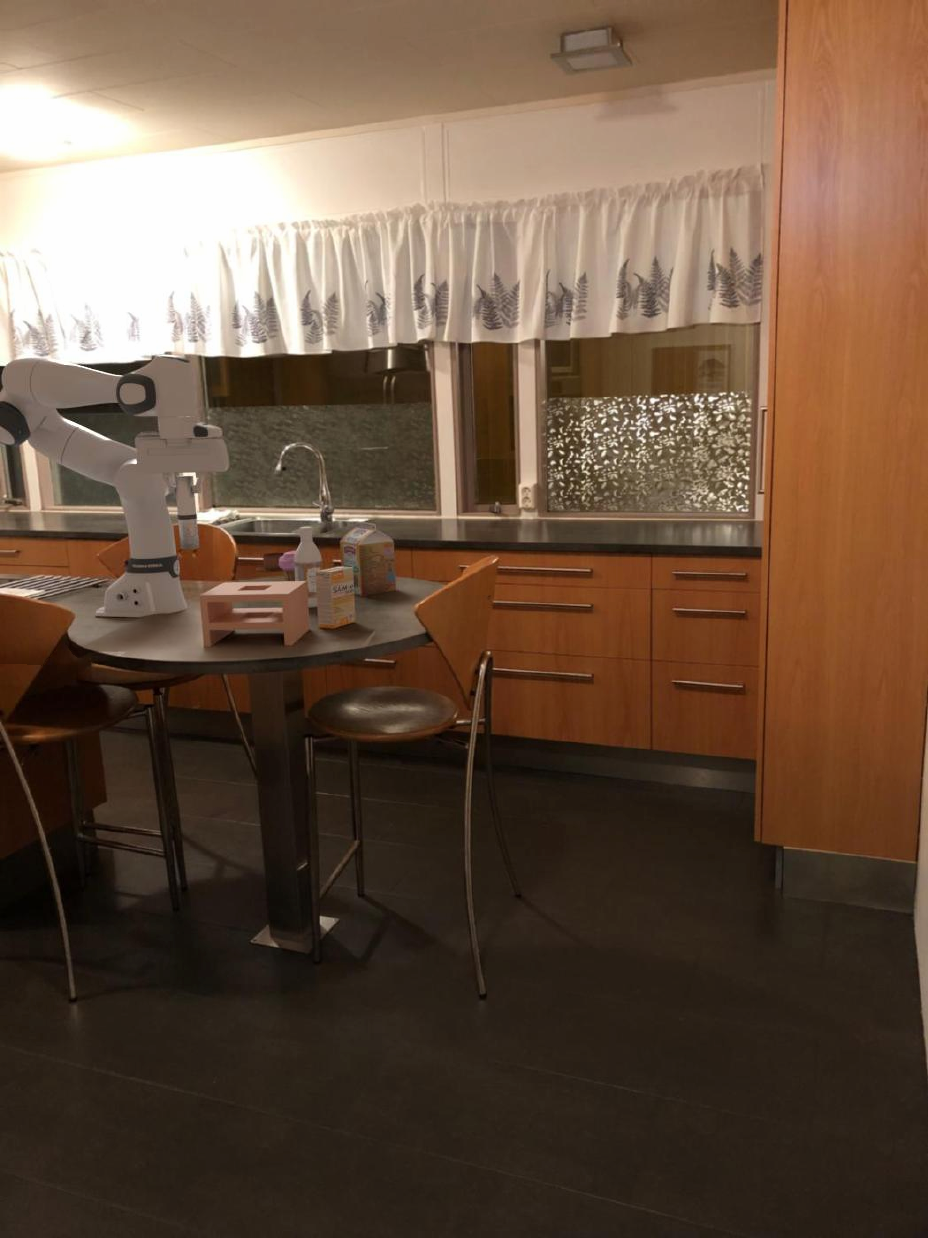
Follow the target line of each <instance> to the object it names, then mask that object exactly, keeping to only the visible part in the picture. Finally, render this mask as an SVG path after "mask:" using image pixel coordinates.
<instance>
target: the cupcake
mask: <svg viewBox="0 0 928 1238" xmlns="http://www.w3.org/2000/svg"><path fill="white" fill-rule="evenodd" d="M295 552H296V550H291V551H287V552H286V551H285V552H283V553H284V555H283V556H281V557H280V559H279V566H280V567H281V568H282V569H283V571H282V572H283V577H284V581H295V568H294V556H295Z"/></svg>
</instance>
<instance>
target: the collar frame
mask: <svg viewBox="0 0 928 1238" xmlns="http://www.w3.org/2000/svg"><path fill="white" fill-rule="evenodd" d="M198 596H199V605H200V618H201V627H202V628H201V630H202V639H203V642H202V643H203V647H212V646H213V645H215V644H216V643H218V642H219V641H221V640H222V639H223V638H226V637H227V636H228V635H229V634H231V633H232V632H233V631H242V630H245V631H248V630H249V631H250V630H251V631H253V630H254V631H255V630H256V631H257V630H259V631H260V630H283V637H284V639H283V640H284V646H293V645H294V644H295V643H296V642H297V641H299V639H301V638H302V637H303V636H304V635H305V634H306V633H307V632H308V631H309V630H310V629H311V625H310V623H311V622H310V610H309V609H310V608H309V607H308V592H307V581H285V580H284V581H237V582H236V581H234V582H233V581H232V582H222V583H220V584H218V585H216V586H215V587H213V588H211V589H209V590H207V591H205V592H203V593H201V594H200V595H198ZM239 602H242V603H243V602H245V603H246V602H247V603H248V602H249V603H251V602H252V603H253V602H281V607H250V608H249V607H247V608H244V607H243V608H241V607H240V608H238V607H237V608H233V603H239Z"/></svg>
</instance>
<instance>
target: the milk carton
mask: <svg viewBox="0 0 928 1238" xmlns="http://www.w3.org/2000/svg"><path fill="white" fill-rule="evenodd" d="M339 547H340V550H339V551H340V564H341V566H340V567H353V579H354V595H356V596H360V597H364V596H371V595H375V594H381V593H382V594H383V593H387V592H392V591H397V584H396V583H397V582H396V581H397V580H396V579H397V577H396V562H395V560H396V559H395V557H396V556H395V541H394V539H393V538H391V537H390V536H389V535H387V534H386V533H384V532H382V531H380V530H378V529H377V525H376V523H371V522H363V521H356V522H355V527H354V528H352V529H350V530H349V532H347V533H346V534H345V535H343V537H342V538H341V539H340V541H339Z"/></svg>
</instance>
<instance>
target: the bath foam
mask: <svg viewBox="0 0 928 1238" xmlns="http://www.w3.org/2000/svg"><path fill="white" fill-rule="evenodd" d="M299 535H300V543H299V545H298V547H297V548H296V550H295V551H296V552H295V556H294V568H295V581H307V592H308V607H309V609H312V608H317V591H316V574H315V571H320V570H324V569H323V559H322V555H321V554H322V553H321V552H320V550H319V548H318V547H317V545H316V544H315V542H314V541H313V527H312V526H301V527H299Z"/></svg>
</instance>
